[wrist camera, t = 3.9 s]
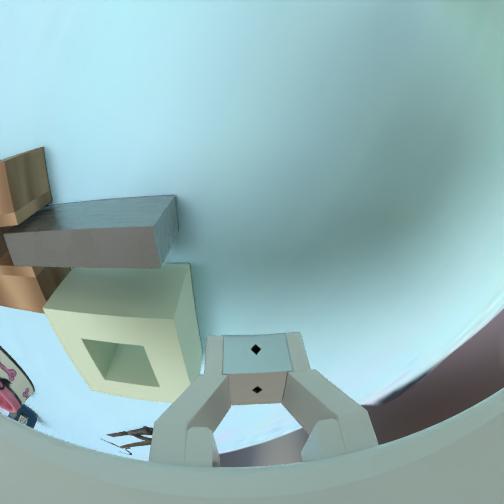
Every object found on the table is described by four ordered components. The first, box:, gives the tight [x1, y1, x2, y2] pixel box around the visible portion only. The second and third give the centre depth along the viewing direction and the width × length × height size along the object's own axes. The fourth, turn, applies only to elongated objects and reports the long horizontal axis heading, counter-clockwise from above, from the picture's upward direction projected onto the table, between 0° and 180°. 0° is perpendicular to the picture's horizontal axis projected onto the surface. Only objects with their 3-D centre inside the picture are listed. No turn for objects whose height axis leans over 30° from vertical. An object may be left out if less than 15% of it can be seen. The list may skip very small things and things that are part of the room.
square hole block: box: [43, 263, 202, 403], centre depth 20 cm, size 10×10×6 cm
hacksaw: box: [102, 426, 153, 455], centre depth 40 cm, size 24×10×2 cm, turn 127°
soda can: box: [8, 404, 37, 429], centre depth 33 cm, size 7×7×12 cm
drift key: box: [3, 195, 178, 269], centre depth 16 cm, size 12×2×5 cm, turn 89°
